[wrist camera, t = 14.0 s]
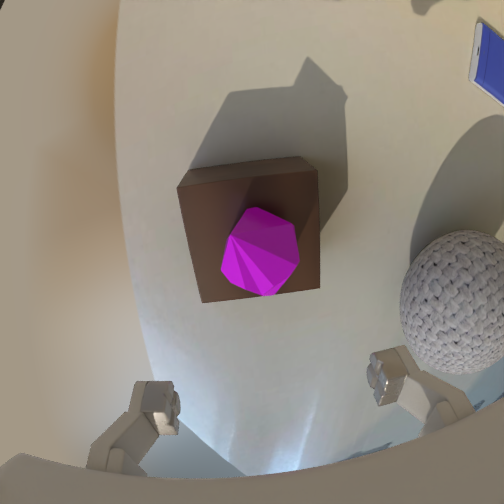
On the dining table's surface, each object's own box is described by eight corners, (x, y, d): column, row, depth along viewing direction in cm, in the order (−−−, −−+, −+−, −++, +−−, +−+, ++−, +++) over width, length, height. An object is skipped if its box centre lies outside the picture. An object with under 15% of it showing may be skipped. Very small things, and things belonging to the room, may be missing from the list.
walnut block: (206, 267, 31) (202, 303, 26) (187, 170, 26) (176, 187, 21) (305, 255, 31) (320, 288, 26) (300, 156, 26) (317, 170, 21)
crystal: (218, 265, 24) (216, 299, 20) (230, 198, 22) (230, 222, 18) (283, 274, 25) (293, 309, 21) (300, 210, 22) (316, 236, 18)
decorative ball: (454, 183, 28) (553, 241, 15) (484, 267, 34) (550, 332, 20) (356, 266, 32) (419, 368, 19) (405, 334, 38) (453, 418, 24)
